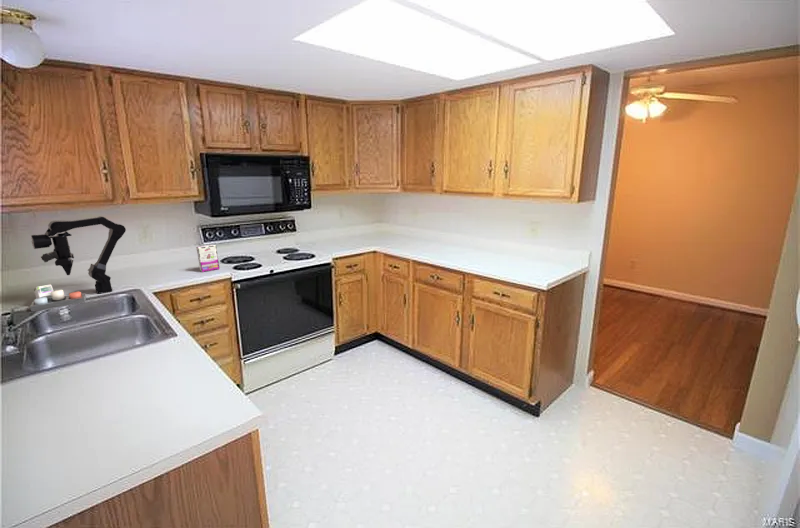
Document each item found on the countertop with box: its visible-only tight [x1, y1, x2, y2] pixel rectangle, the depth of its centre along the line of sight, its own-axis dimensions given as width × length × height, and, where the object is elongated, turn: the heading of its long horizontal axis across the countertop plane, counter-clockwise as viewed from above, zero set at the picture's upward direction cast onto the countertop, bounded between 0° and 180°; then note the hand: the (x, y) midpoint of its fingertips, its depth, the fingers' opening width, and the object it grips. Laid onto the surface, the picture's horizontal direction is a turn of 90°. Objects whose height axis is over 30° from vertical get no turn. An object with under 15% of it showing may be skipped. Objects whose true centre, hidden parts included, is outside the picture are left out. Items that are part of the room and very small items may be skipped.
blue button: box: [33, 297, 48, 304], centre depth 184 cm, size 5×5×4 cm
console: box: [29, 292, 87, 312], centre depth 188 cm, size 20×10×2 cm, turn 127°
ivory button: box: [51, 289, 66, 300], centre depth 188 cm, size 5×5×4 cm
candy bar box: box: [195, 244, 220, 273], centre depth 247 cm, size 11×5×16 cm, turn 131°
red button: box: [68, 291, 82, 299], centre depth 192 cm, size 5×5×4 cm
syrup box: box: [34, 284, 54, 299], centre depth 191 cm, size 6×6×14 cm
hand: (68, 275), depth 195 cm, fingers closed
